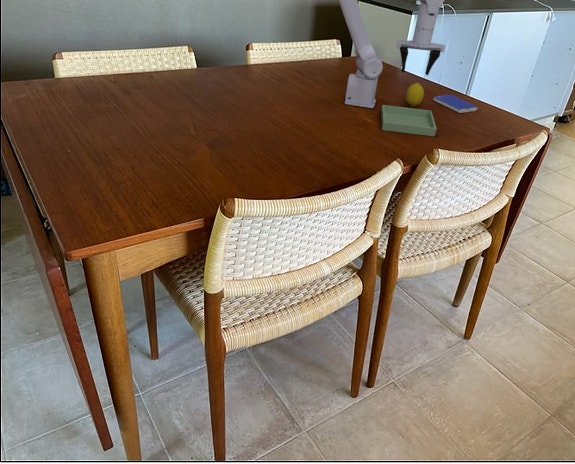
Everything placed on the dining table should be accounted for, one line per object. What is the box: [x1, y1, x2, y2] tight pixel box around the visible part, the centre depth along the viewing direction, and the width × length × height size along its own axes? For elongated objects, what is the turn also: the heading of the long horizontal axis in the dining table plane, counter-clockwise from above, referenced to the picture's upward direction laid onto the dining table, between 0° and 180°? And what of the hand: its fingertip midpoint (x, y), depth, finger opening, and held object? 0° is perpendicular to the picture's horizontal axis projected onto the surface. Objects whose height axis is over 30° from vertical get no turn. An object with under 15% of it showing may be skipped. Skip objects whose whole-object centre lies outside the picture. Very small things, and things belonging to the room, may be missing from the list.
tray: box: [380, 104, 438, 137], centre depth 141 cm, size 15×15×2 cm
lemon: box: [405, 82, 425, 108], centre depth 152 cm, size 6×6×8 cm
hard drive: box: [432, 94, 478, 114], centre depth 158 cm, size 2×8×12 cm
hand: (414, 73), depth 151 cm, fingers open, 7 cm apart
